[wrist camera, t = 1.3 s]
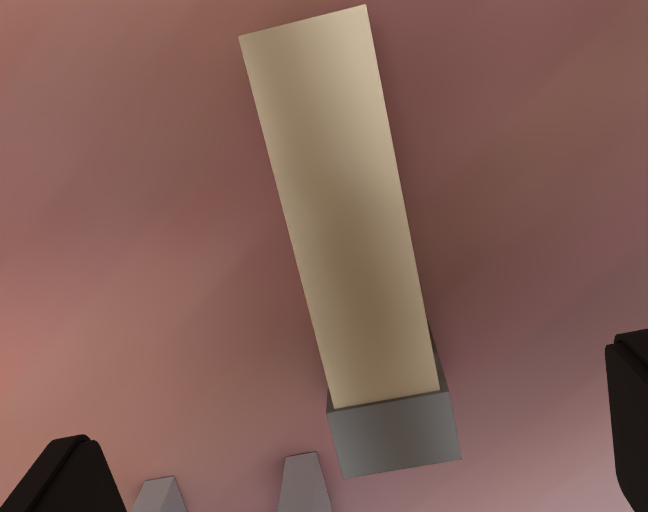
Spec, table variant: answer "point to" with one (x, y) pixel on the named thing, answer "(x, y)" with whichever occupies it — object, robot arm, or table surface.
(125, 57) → the table surface
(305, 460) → the gray forked clamp
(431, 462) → the tan and gray block
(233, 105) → the table surface
